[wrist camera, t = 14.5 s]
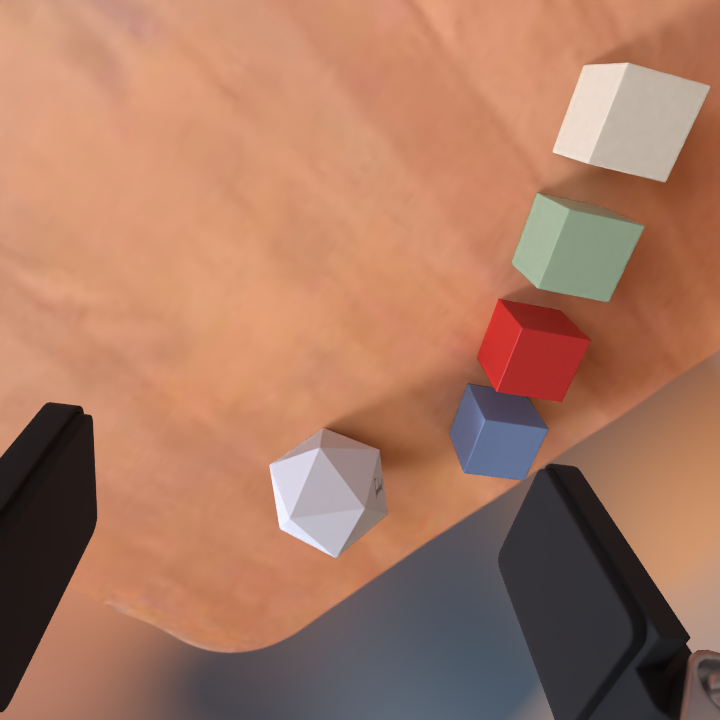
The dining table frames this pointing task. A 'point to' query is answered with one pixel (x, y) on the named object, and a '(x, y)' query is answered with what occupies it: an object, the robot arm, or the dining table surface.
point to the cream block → (630, 119)
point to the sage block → (575, 247)
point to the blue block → (496, 433)
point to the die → (329, 491)
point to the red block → (531, 351)
